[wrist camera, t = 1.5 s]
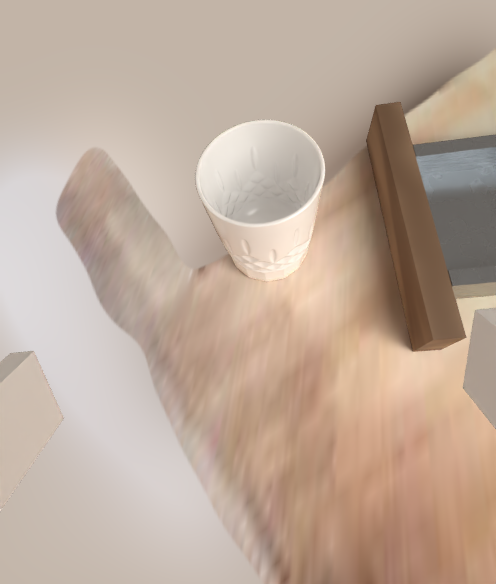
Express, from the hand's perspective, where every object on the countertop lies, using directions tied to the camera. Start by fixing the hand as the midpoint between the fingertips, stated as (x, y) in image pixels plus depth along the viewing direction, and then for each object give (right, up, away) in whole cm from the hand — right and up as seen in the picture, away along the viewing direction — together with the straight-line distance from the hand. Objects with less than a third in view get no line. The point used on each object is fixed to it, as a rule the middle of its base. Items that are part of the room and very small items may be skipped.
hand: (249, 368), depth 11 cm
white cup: (+2, +6, +20) cm, 21 cm away
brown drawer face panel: (+13, +7, +19) cm, 24 cm away
